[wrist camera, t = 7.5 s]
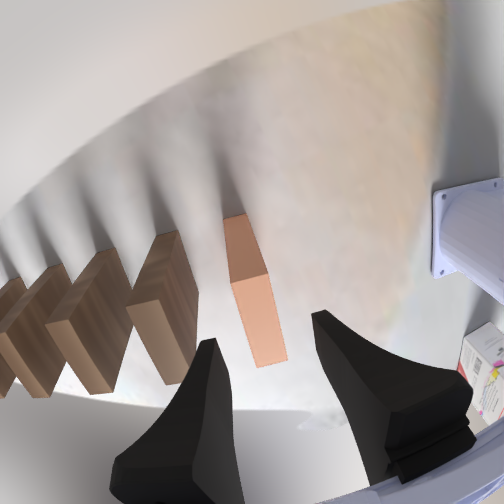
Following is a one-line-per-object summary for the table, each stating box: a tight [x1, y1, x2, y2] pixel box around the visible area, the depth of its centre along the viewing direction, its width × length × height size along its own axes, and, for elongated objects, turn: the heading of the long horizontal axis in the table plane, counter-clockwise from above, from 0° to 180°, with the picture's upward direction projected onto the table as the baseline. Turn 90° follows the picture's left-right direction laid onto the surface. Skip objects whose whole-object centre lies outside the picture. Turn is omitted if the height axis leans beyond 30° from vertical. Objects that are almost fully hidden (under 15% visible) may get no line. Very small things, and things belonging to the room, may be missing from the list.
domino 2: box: [0, 263, 72, 398], centre depth 18 cm, size 2×5×9 cm, turn 12°
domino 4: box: [126, 230, 199, 385], centre depth 18 cm, size 2×5×9 cm, turn 12°
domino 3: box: [45, 248, 134, 395], centre depth 18 cm, size 2×5×9 cm, turn 12°
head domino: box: [223, 214, 288, 368], centre depth 18 cm, size 2×5×9 cm, turn 12°
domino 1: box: [0, 277, 27, 398], centre depth 18 cm, size 2×5×9 cm, turn 12°
